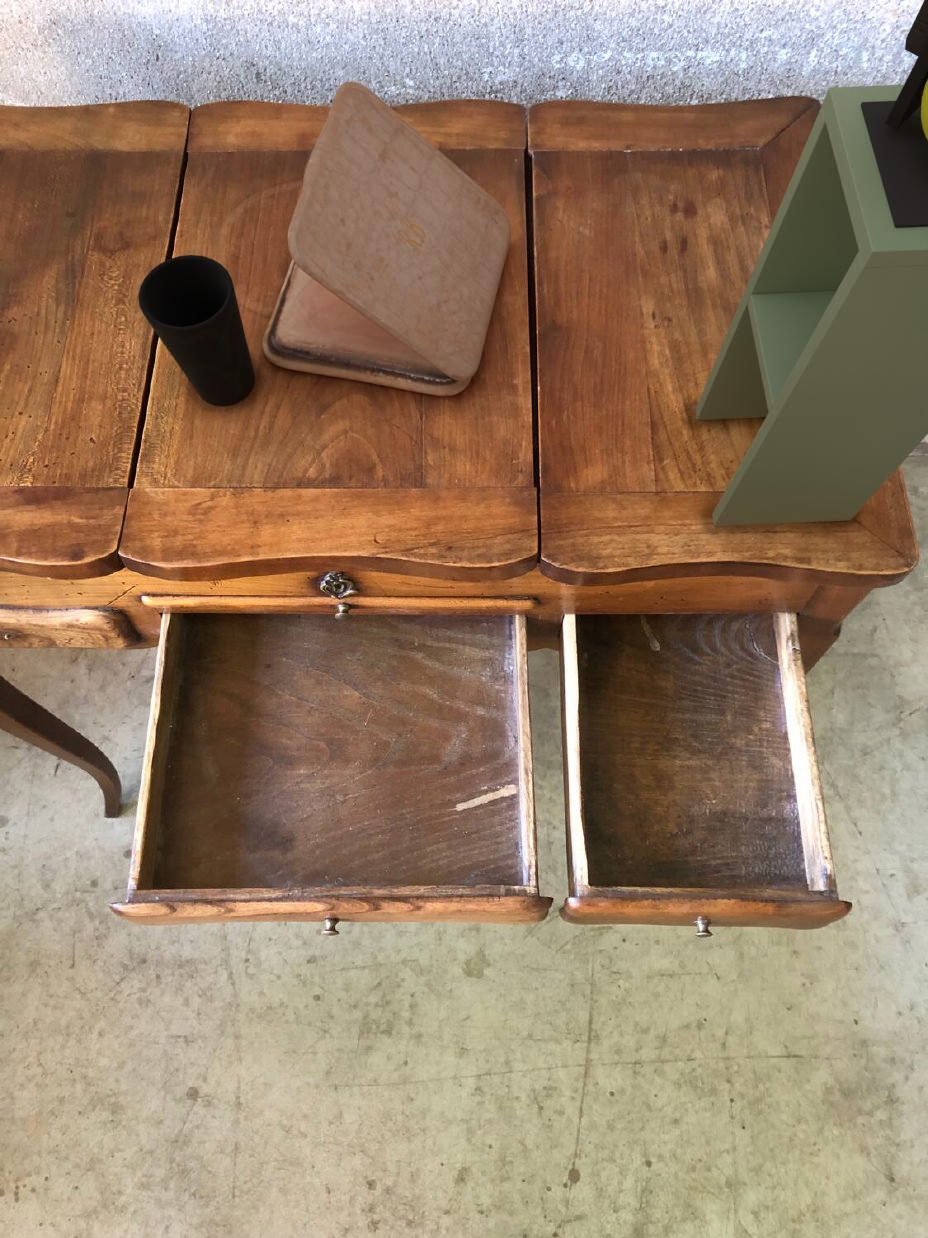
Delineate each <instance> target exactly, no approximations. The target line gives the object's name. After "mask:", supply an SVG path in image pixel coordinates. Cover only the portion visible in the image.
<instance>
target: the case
mask: <svg viewBox="0 0 928 1238" xmlns="http://www.w3.org/2000/svg"><path fill="white" fill-rule="evenodd" d="M301 186H302V188H301V191H300V195H299V198H298V200H297V204H296V205H295V209H294V211H293V213H292V214H293V215H292V217H291V220H290V223H289V227H288V230H287V248H288V252H289V254H290V256H291V261H290V264H289V267H288V271H287V272H286V276H285V278H284V281H283V284H282V286H281V289H280V290H279V291H280V292H279V294H278V297H277V300H276V302H275V305H274V308H273V311H272V314H271V316H270V318H269V322H268V324H267V327H266V328H265V329H266V330H265V332H264V335H263V338H262V342H261V346H262V352H263V355H264V357H265V358H266V359H267V360H268V361H269V362H270V363H272V364H273V365H275V366H277V367H280V368H283V369H286V370H292V371H299V372H304V373H309V374H316V375H321V376H322V375H323V376H327V377H334V378H340V379H347V380H351V381H357V382H364V383H368V384H374V385H378V386H384V387H390V388H393V389H398V390H404V391H409V392H415V393H418V394H419V393H420V394H425V395H429V396H437V397H452V396H455V395H458V394H460V393H462V392H463V391H464V390H465V389H466V388H468V386H469V384H470V382H471V381H472V378H473V377H474V376H475V374H476V373H477V372H478V369H479V366H480V365H481V364H480V363H481V359H482V355H483V351H484V347H485V343H486V338H487V334H488V330H489V325H490V322H491V318H492V313H493V310H494V305H495V302H496V298H497V293H498V290H499V287H500V283H501V278H502V274H503V270H504V267H505V262H506V260H507V256H508V252H509V247H510V244H511V238H512V226H511V222H510V219H509V217H508V214H507V212H506V211H505V209H504V208H503V207H502V205H501V204H500V203H499V202H498V201H497V200H496V199H495V198H493V197H492V196H491V195H490V194H489V193H488V192H486V191H485V190H484V189H483V188H482V187H481V186H480V185H478V184H477V182H476V181H474V180H473V179H472V178H471V177H470V176H468V174H466V173H465V172H464V171H463V170H462V169H460V168H459V167H458V165H456V164H455V163H454V162H453V161H452V160H450V159H449V158H448V157H446V155H445V154H444V153H443V152H442V151H441V150H439V149H438V148H437V147H436V146H435V145H434V144H432V143H431V141H429V140H428V139H427V138H426V137H424V136H423V135H422V134H421V133H420V132H419V131H418V130H417V129H416V128H415V127H413V125H411V124H410V123H409V122H408V121H406V119H405V118H403V117H402V116H401V115H400V114H399V113H398V112H396V111H395V109H393V108H392V107H391V106H389V105H388V104H387V103H386V102H385V101H384V100H383V99H382V98H381V97H380V96H378V94H376V93H375V92H373V91H372V90H371V89H370V88H368V87H367V86H365V85H364V84H363V83H360V82H357V81H346V82H343V83H342V84H340V85H339V87H338V88H337V90H336V91H335V94H334V97H333V100H332V103H331V105H330V108H329V112H328V115H327V118H326V121H325V123H324V124H323V127H322V128H321V131H320V133H319V135H318V137H317V139H316V140H315V141H314V143H313V145H312V148H311V151H310V153H309V155H308V158H307V160H306V163H305V166H304V170H303V172H302V177H301Z"/></svg>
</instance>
